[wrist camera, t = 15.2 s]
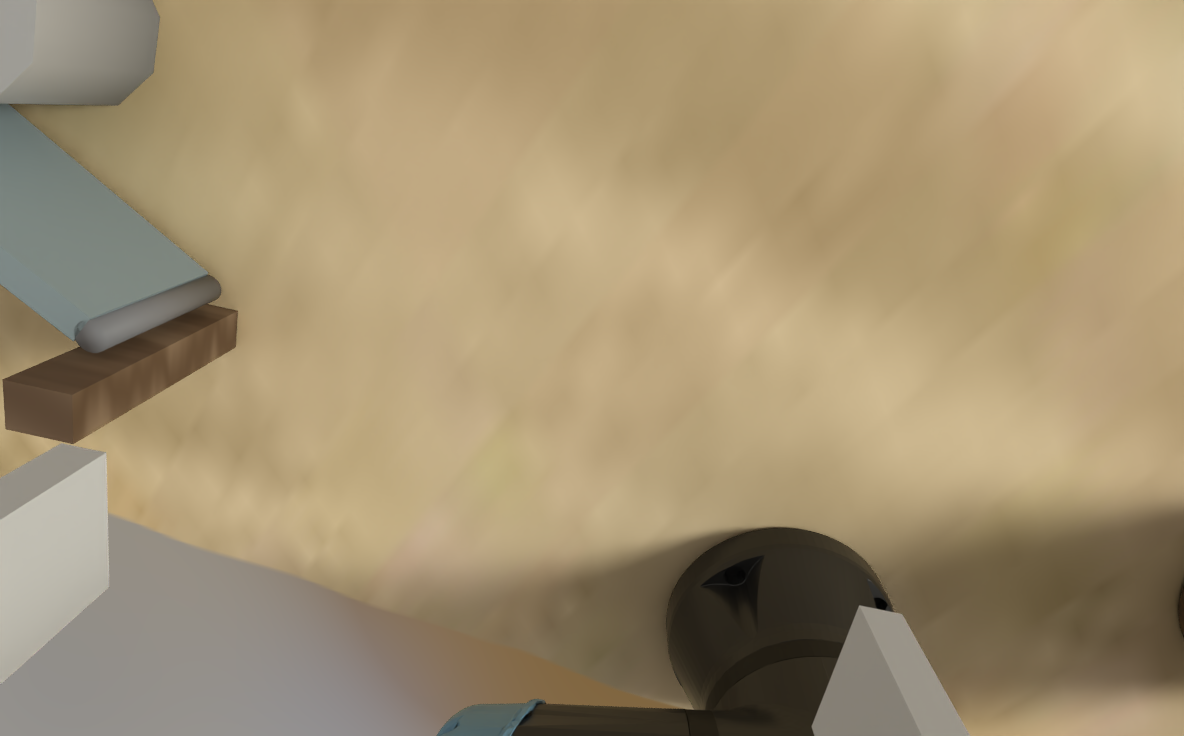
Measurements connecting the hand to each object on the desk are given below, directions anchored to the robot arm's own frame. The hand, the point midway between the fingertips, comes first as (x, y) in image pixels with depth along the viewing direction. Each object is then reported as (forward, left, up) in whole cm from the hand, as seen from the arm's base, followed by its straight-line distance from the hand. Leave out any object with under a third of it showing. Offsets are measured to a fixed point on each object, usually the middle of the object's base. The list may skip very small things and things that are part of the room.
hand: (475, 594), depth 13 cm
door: (-2, +30, -31) cm, 43 cm away
